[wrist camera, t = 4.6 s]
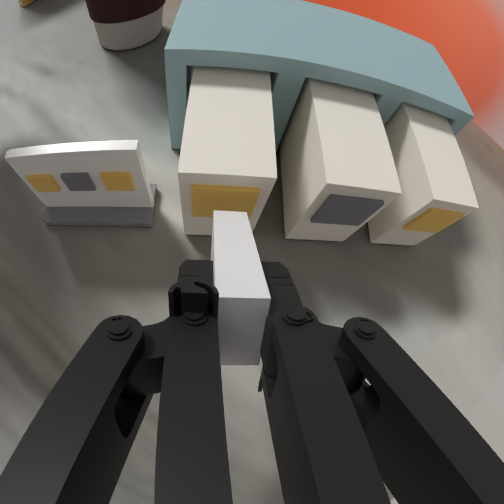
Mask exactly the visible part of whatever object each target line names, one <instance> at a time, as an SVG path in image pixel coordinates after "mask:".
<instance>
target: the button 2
mask: <svg viewBox="0 0 504 504" xmlns="http://www.w3.org/2000/svg"><path fill="white" fill-rule="evenodd" d="M384 128H385V132H386V135H387V138H388V142H389V145H390V148H391V152H392V156H393V159H394V163H395V167H396V171H397V175H398V179H399V183H400V187H401V192H402V194H401V195H400V196H398V197H397V198H396V199H395V200H394V201H392V202H391V203H390V204H389V205H388V206H386V207H385V208H384V209H383V210H381V211H380V212H379V213H378V214H377V215H375V216H374V217H373V218H372V219H370V220H369V221H368V228H369V235H370V243H379V244H396V245H412V246H414V245H416V244H418V243H420V242H421V241H423V240H425V239H427V238H429V237H430V236H432V235H434V234H436V233H437V232H439V231H441V230H443V229H444V228H446V227H448V226H450V225H451V224H453V223H455V222H456V221H458V220H460V219H462V218H463V217H465V216H467V215H468V214H470V213H472V212H473V211H475V210H477V209H478V208H479V207H478V204H477V200H476V197H475V193H474V190H473V187H472V183H471V180H470V177H469V174H468V171H467V168H466V165H465V163H464V160H463V157H462V154H461V152H460V149H459V146H458V144H457V141H456V139H455V136H454V134H453V131H452V129H451V127H450V124H449V122H448V120H447V117H445V116H442V115H440V114H437V113H435V112H432V111H429V110H426V109H424V108H421V107H418V106H415V105H412V104H409V103H406V102H402V103H401V104H400V105H399V107H398V108H397V109H396V111H395V112H394V113H393V114H392V116H391V117H390V118H389V120H388V121H387V122H386V123H385V125H384Z"/></svg>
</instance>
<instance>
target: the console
mask: <svg viewBox="0 0 504 504" xmlns="http://www.w3.org/2000/svg"><path fill="white" fill-rule="evenodd" d="M164 55H165V73H166V89H167V103H168V115H169V127H170V137H171V147H172V149H181V144H182V137H183V130H184V123H185V116H186V110H187V104H188V98H189V92H190V86H191V80H192V75H193V70H194V66H214V67H229V68H241V69H251V70H260V71H268V72H270V81H271V93H272V107H273V120H274V135H275V150H277V148H278V145H279V143H280V140H281V138H282V135H283V133H284V130H285V128H286V125H287V123H288V120H289V118H290V115H291V113H292V110H293V108H294V105H295V103H296V100H297V98H298V95H299V93H300V90H301V88H302V85H303V83H304V80H305V78H306V77H307V78H313V79H318V80H323V81H328V82H332V83H337V84H341V85H346V86H350V87H354V88H358V89H362V90H366V91H369V92H372V93H373V95H374V98H375V101H376V104H377V107H378V110H379V113H380V116H381V119H382V122H383V125H385V123H386V122H387V121H388V120H389V118H390V117H391V116H392V114H393V113H394V112H395V111H396V109H397V108H398V107H399V105H400V104H401V103H402V102H406V103H409V104H412V105H415V106H418V107H421V108H424V109H426V110H429V111H432V112H435V113H437V114H440V115H442V116H445V117H447V120H448V122H449V124H450V127H451V129H452V131H453V134H454V136H455V135H456V134H457V133H458V132H459V131H460V130H461V129H462V128H463V127H464V126H465V125H466V124H467V123H468V122H469V121H470V120H471V119H473V118H474V114H473V112H472V110H471V108H470V106H469V104H468V103H467V101H466V99H465V97H464V95H463V93H462V91H461V90H460V88H459V86H458V84H457V82H456V81H455V79H454V77H453V76H452V74H451V72H450V71H449V69H448V68H447V66H446V64H445V63H444V61H443V59H442V58H441V56H440V55H439V53H438V52H437V50H436V49H435V47H434V46H433V45H432V44H430V43H428V42H426V41H423V40H421V39H419V38H417V37H415V36H412V35H410V34H408V33H405V32H403V31H400V30H398V29H395V28H393V27H390V26H387V25H385V24H382V23H379V22H377V21H374V20H371V19H368V18H365V17H362V16H358V15H356V14H352V13H349V12H346V11H342V10H338V9H335V8H331V7H327V6H323V5H319V4H315V3H311V2H305V1H301V0H183V1H182V3H181V5H180V8H179V10H178V13H177V16H176V18H175V21H174V23H173V26H172V29H171V32H170V34H169V37H168V40H167V43H166V46H165V49H164Z"/></svg>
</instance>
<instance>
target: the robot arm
mask: <svg viewBox="0 0 504 504" xmlns="http://www.w3.org/2000/svg"><path fill="white" fill-rule="evenodd" d="M168 296H169V313H170V316H169V317H168V318H167V319H165V320H164V321H162V322H160V323H157V324H153V325H147V326H142V325H141V323H140V322H138V321H137V320H136V319H134V318H132V317H130V316H123V315H118V316H112V317H109V318H107V319H105V320H103V321H102V322H101V323H100V324H99V325H98V326H97V327H96V328H95V330H94V331H93V333H92V334H91V335H90V337H89V338H88V339H87V341H86V342H85V343H84V345H83V346H82V348H81V349H80V350H79V352H78V353H77V355H76V356H75V357H74V359H73V360H72V362H71V363H70V365H69V366H68V367H67V369H66V370H65V372H64V373H63V375H62V376H61V378H60V379H59V381H58V382H57V384H56V385H55V387H54V388H53V390H52V391H51V393H50V394H49V396H48V397H47V399H46V400H45V402H44V403H43V405H42V406H41V408H40V410H39V411H38V413H37V414H36V416H35V418H34V419H33V421H32V422H31V424H30V426H29V427H28V429H27V431H26V432H25V434H24V436H23V437H22V439H21V441H20V442H19V444H18V446H17V447H16V449H15V451H14V453H13V454H12V456H11V458H10V460H9V462H8V463H7V465H6V467H5V469H4V471H3V473H2V474H1V476H0V504H109V502H110V499H111V497H112V494H113V492H114V489H115V486H116V484H117V481H118V479H119V476H120V474H121V471H122V469H123V466H124V464H125V461H126V459H127V456H128V454H129V451H130V449H131V447H132V444H133V442H134V439H135V437H136V434H137V432H138V430H139V427H140V425H141V422H142V420H143V418H144V415H145V413H146V411H147V408H148V406H149V404H150V401H151V399H152V396H153V394H154V393H159V392H161V395H160V406H159V418H158V432H157V448H156V468H155V503H154V504H233V501H232V492H231V483H230V473H229V463H228V453H227V442H226V431H225V419H224V407H223V394H222V380H221V366H220V365H259V361H260V356H261V358H262V363H263V367H262V372H261V376H260V381H259V386H258V392H261V391H262V387H263V391H264V397H265V402H266V408H267V413H268V419H269V424H270V430H271V435H272V440H273V446H274V451H275V456H276V461H277V467H278V472H279V477H280V482H281V487H282V493H283V498H284V503H285V504H391V503H390V500H389V497H388V494H387V492H386V489H385V486H384V483H385V485H386V486H387V487H388V489H389V490H390V492H391V493H392V495H393V496H394V498H395V499H396V500H397V502H398V503H399V504H504V463H503V462H502V460H501V459H500V458H499V457H498V456H497V454H496V453H495V452H494V451H493V450H492V448H491V447H490V446H489V445H488V444H487V442H486V441H485V440H484V439H483V438H482V436H481V435H480V434H479V433H478V432H477V431H476V430H475V429H474V427H473V426H472V425H471V424H470V423H469V421H468V420H467V419H466V418H465V417H464V416H463V415H462V413H461V412H460V411H459V410H458V409H457V408H456V407H455V406H454V404H453V403H452V402H451V401H450V400H449V399H448V398H447V397H446V395H445V394H444V393H443V392H442V391H441V390H440V389H439V388H438V387H437V386H436V384H435V383H434V382H433V381H432V380H431V379H430V378H429V377H428V376H427V375H426V373H425V372H424V371H423V370H422V369H421V368H420V367H419V366H418V365H417V364H416V363H415V362H414V361H413V359H412V358H411V357H410V356H409V355H408V354H407V353H406V352H405V351H404V350H403V349H402V348H401V347H400V346H399V345H398V344H397V343H396V341H395V340H394V339H393V338H392V337H391V336H390V335H389V334H388V333H387V332H386V331H385V330H384V329H383V328H382V327H381V326H380V325H379V324H377V323H376V322H374V321H372V320H370V319H367V318H362V317H355V318H351V319H349V320H347V321H346V323H345V324H344V327H343V328H340V327H334V326H329V325H325V324H322V323H319V321H318V319H317V317H316V316H315V314H314V313H313V312H312V311H310V310H309V309H307V308H305V307H303V305H302V303H301V300H300V298H299V295H298V293H297V291H296V288H295V286H294V283H293V281H292V279H291V276H290V273H289V271H288V269H287V268H286V267H285V266H283V265H282V264H281V263H280V262H261V261H260V258H259V254H258V251H257V247H256V244H255V240H254V237H253V233H252V230H251V226H250V223H249V219H248V216H247V212H236V211H217V210H214V212H213V228H212V245H211V261H208V260H186V261H185V262H184V263H183V264H182V265H181V266H180V270H179V276H178V282H177V283H175V284H174V285H172V286H171V288H170V290H169V291H168ZM365 379H367V380H368V381H369V382H370V384H371V385H369V384H367V383H366V381H365ZM382 480H383V481H382ZM383 482H384V483H383Z"/></svg>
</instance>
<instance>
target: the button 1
mask: <svg viewBox="0 0 504 504" xmlns="http://www.w3.org/2000/svg"><path fill="white" fill-rule="evenodd" d="M178 179H179V189H180V198H181V207H182V216H183V224H184V232H185V234H187V235H212V228H213V212H214V210H217V211H236V212H247V216H248V219H249V223H250V226H251V230H252V233H253V230H254V228H255V226H256V224H257V222H258V219H259V217H260V215H261V213H262V210H263V208H264V206H265V204H266V202H267V199H268V197H269V195H270V193H271V191H272V188H273V186H274V184H275V182H276V180H277V167H276V150H275V135H274V120H273V107H272V93H271V81H270V72H268V71H260V70H251V69H241V68H229V67H214V66H194V70H193V75H192V80H191V86H190V92H189V98H188V104H187V110H186V116H185V123H184V130H183V137H182V144H181V151H180V159H179V167H178Z"/></svg>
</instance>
